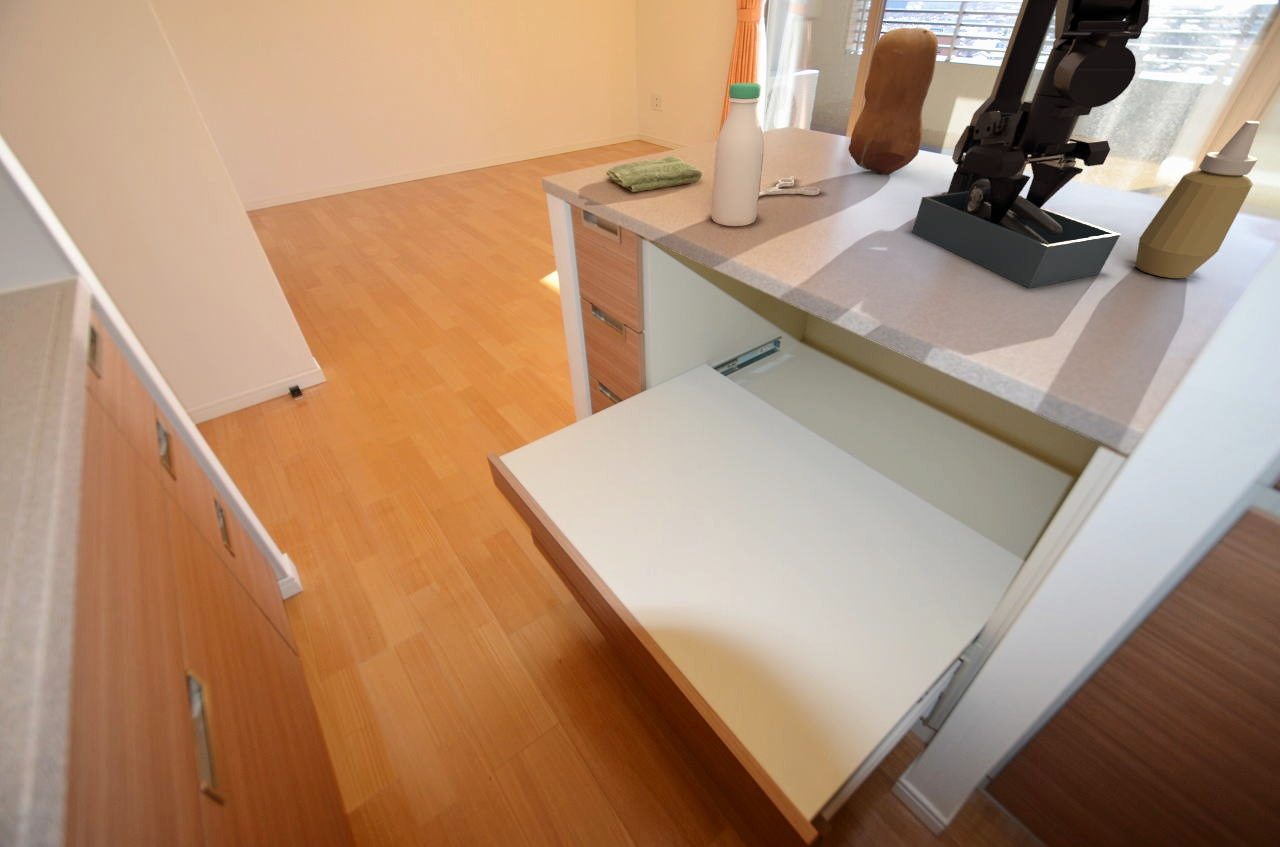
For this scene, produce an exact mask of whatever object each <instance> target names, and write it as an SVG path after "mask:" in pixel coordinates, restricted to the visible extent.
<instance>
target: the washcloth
mask: <svg viewBox="0 0 1280 847" xmlns="http://www.w3.org/2000/svg"><path fill="white" fill-rule="evenodd" d="M606 176H609V179H610V180H613V182H614V183H616V184H618V185H620V186H622V187H623V188H626V189H627V190H629V191H630V192H631V193H639V192H643V191H653V190H654V189H657V190H658V189H664V188H669V187H675V186H681V185H687V184H689V185H690V184H692V183H697V182H698V181H700V180H701V179H702V177H703V172H702V170H701V169H698V168H697V167H695V166H693V165H692V164H689V163H687V162H685V160H684V159H682V158H680V157H678V156H676V155H670V156H666V157H663V158H658V159H648V160H643V161H636V162H635V161H634V162H627V163H625V164H620V165H615V166H613V167H611V168H610V169H608V170H607V171H606Z"/></svg>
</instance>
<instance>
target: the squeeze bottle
mask: <svg viewBox="0 0 1280 847" xmlns="http://www.w3.org/2000/svg"><path fill="white" fill-rule="evenodd" d="M1260 123H1261V122H1260V121H1257V120H1256V121H1255V120H1246V121H1245V122H1244V124H1243V125H1242V126H1241V127H1239V129H1238V130H1237V131H1236V132H1235V134H1233V136H1232V137H1231V138H1230V139H1229V140H1228V142H1226V144H1225V145H1224V146H1223V147H1222V148H1221V149H1220V151H1219V152H1218V151H1213V152H1212V151H1211V152H1208V153H1206V154H1205V156H1204V158H1202V161H1201V163H1200V164H1199V166H1198V168H1199V169H1197V170H1193V171H1190V172H1187V173H1185V174H1184V175H1183V176H1182V177H1181V179H1180V180H1179V182H1178V183H1177V184H1176V186H1175V187H1174V188H1173V190H1172V191H1171V193H1170V194H1169V195H1168V197H1167V199H1166V200H1165V201H1164V202H1163V204H1162V205H1161V207H1160V209H1159V210H1158V212H1157V213H1156V214H1155V215H1154V217H1153V218H1152V220H1151V221H1150V223H1149V224H1148V226H1147V227H1146V228H1145V230H1144V231H1143V233H1142V234H1141V236H1140V237H1139V240H1138V246H1137V253H1136V260H1135V267H1136V268H1137V269H1139V270H1140V271H1142V272H1145V273H1147V274H1150V275H1154V276H1157V277H1161V278H1162V277H1163V278H1169V279H1184V278H1189V276H1190V275H1192V274H1193V273H1195V272H1196V271H1197V270H1198V269H1199V268H1200V267H1202V266H1203V265H1204V264H1205V263H1206V262H1207V261H1209V260H1210V259H1211V258H1212V257H1213V256H1215V255H1216V254H1217V253H1218V252H1219V250H1220V248H1221V246H1222V244H1223V243H1224V240H1225V238H1226V237H1227V235H1228V233H1229V231H1230V230H1231V228H1232V225H1233V223H1234V221H1235V220H1236V218H1237V216H1238V214H1239V212H1240V211H1241V208H1242V206H1243V204H1244V202H1245V200H1246V199H1247V197H1248V194H1249V193H1250V191H1251V189H1252V188H1253V185H1254V184H1253V181H1252V180H1251V178H1249V177H1248V176H1247V175H1248V174H1250V173H1251V171H1252V170H1253V168H1254V166H1255V165H1256V163H1257V161H1258V158H1257V157H1255V156H1253V155H1249V154H1250V151H1251V148H1252V145H1253V143H1254V140H1255V137H1256V134H1257V133H1258V129H1259V126H1260Z"/></svg>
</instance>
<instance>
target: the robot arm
mask: <svg viewBox="0 0 1280 847" xmlns="http://www.w3.org/2000/svg"><path fill="white" fill-rule="evenodd" d="M1150 3H1151V0H1022V2H1021V5H1020V8H1019V11H1018V14H1017V16H1016V19H1015V23H1014V26H1013V29H1012V31H1011V34H1010V37H1009V40H1008V43H1007V46H1006V49H1005V52H1004V55H1003V58H1002V61H1001V64H1000V67H999V70H998V73H997V76H996V78H995V81H994V84H993V87H992V91H991V93H990V95H989V97H988V98H987V99H986V100H985V101H984V102H983V103H982V104H981V105H980V106H979V107H978V108H977V109H976V110H975V111H974V113H972V118H971V120H970V122H969V125H966V127H965V129H964V130H963V131H962V133H961V135H960V136H959V139H958V140H957V142H956V144H955V146H954V149H953V153H952V156H951V160H952V161H953V162H954V164H955V165H957V166H956V169H955V171H954V172H953V175H952V178H951V181H950V183H949V186H948V190H947V191H944V192H941V194H940V195H943V194H950V193H958V192H965V191H969V190H970V187H971V186H972V184H974V183H975V182H976V181H979V180H981V179H986V180H988V181H989V182H990V189H991V222H992V223H994V224H999V223H1000V221H1001V220H1002V219H1003V218H1004V216H1005V215H1006V213H1007V212H1008V210H1009V209H1010V207H1011V206H1012V204H1013V203H1014V201H1015V200H1016V198H1017V197H1018V195H1020V194H1021V193H1022V192H1023V190H1024V188H1025V187H1026V186H1027V184H1028V182H1029V181H1030V179H1031V176H1030V175H1027V174H1024V172H1025V170H1026V167H1027V165H1030V166H1031V167H1030V168H1031V171H1032V179H1031V183H1030V184H1029V185H1030V186H1029V189H1028V191H1027V194H1026V197H1025V199H1027V200H1028V201H1030V202H1031V203H1032V204H1034V205H1035V206H1037V207H1038V208H1039V209H1040V208H1043V206H1044V205H1045V204H1046V203H1047V202H1048V201H1049V200H1050V199H1051V198H1052V197H1054V195H1056V194H1057V193H1058V192H1059V191H1060V190H1061V189H1062V188H1063V187H1065V185H1067V184H1068V183H1069V182H1070V181H1071V180H1073V179H1074V178H1075V177H1076V176H1077V175H1080V174H1082V172H1083V171H1084V169H1083V168H1081V167H1078V166H1076V164H1077V160H1076V159H1078V160H1081V161H1083V165H1084V166H1085V167H1095V166H1103V165H1104V164H1105V161H1106V159H1107V157H1108V155H1109V153H1110V151H1111V147H1110V144H1109V141H1108V140H1107V139H1103V138H1102V139H1101V138H1097V137H1093V136H1087V135H1083V134H1077V133H1075V134H1073V133H1074V130H1075V128H1076V126H1077V124H1078V121H1079V119H1080V117H1082V116H1089V115H1090V113H1091V112H1092V109H1093V108H1099V107H1101V106H1104V105H1108V104H1109V103H1111V102H1113V101H1114V100H1116V99H1117V98H1118V97H1119V96H1121V95H1122V94H1124V92H1125V91H1126V89H1128V87H1129V86H1130V84H1131V83H1132V81H1133V80H1134V77H1135V75H1136V66H1137V61H1136V56H1135V54H1134V52H1133V51H1132V50H1131V49H1130V48H1128V47H1127V44H1128V42H1129V40H1138V39H1139V38H1140V36H1141V34H1142V30H1143V28H1144V27H1145V26H1146V24H1147V23H1148V22H1149V14H1150ZM1054 13H1055V14H1054ZM1053 16H1054V40H1053V43H1052V48H1051V49H1050V52H1049V54H1048V57H1047V60H1046V63H1045V66H1044V68H1043V71H1042V73H1041V76H1040V78H1039V81H1038V84H1037V86H1036V88H1035V91H1034V94H1033V96H1032V100H1026V101H1023V102H1022V98H1023V96H1024V93H1025V90H1026V88H1027V84H1028V83H1029V80H1030V77H1031V75H1032V72H1033V69H1034V67H1035V63H1036V60H1037V58H1038V56H1039V52H1040V51H1041V48H1042V45H1043V42H1044V39H1045V36H1046V35H1047V31H1048V29H1049V27H1050V23H1051V21H1052V19H1053ZM1021 218H1022V219H1025V218H1023V217H1021ZM1025 220H1026V219H1025Z"/></svg>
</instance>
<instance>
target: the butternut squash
mask: <svg viewBox="0 0 1280 847" xmlns="http://www.w3.org/2000/svg"><path fill="white" fill-rule="evenodd" d="M938 49H939V41H938V37H937V35H936V34H935V33H934V32H933V31H932V30H930V29H926V28H924V27H923V28H922V27H911V28H910V27H901V28H894V29H891V30H888V31H886V32H885V33H883V34H882V35H881V36H880V37H879V39H878V41H877V43H876V45H875V47H874V49H873V52H872V56H871V60H870V64H869V71H868V76H867V79H866V82H865V84H864V98H865V103H864V105H863V107H862V111H861V112H860V114H859V116H858V118H857V120H856V122H855V124H854V127H853V130H852V132H851V137H850V143H849V145H848V149H847V150H848V153H849V154H850V157H851V158H852V159H853V161H854V162H855V164H856V165H857V166H858V167H860V168H862V169H864V170H866V171H867V170H868V171H871V172H872V173H874V174H878V175H892V174H893V173H894V172H897V171H899V170H901V169H902V168H904V167H905V166H907V165H909V164H910V163H911V162H913V160H915V158H916V157H917V156H918V154H919V152H920V149H921V145H922V143H923V139H924V138H923V137H924V126H923V108H924V104H925V101H926V98H927V95H928V93H929V90H930V87H931V84H932V81H933V78H934V74H935V70H936V62H937V57H938V51H939V50H938Z"/></svg>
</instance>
